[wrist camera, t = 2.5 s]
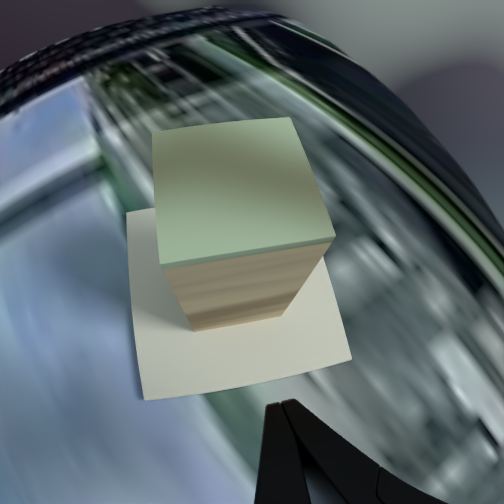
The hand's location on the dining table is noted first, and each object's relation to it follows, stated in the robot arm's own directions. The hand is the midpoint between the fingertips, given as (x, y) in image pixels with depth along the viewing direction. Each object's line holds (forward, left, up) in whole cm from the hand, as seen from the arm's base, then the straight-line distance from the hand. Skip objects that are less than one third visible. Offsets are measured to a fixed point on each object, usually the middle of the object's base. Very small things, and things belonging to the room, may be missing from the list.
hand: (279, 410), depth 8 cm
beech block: (+5, +5, -9) cm, 11 cm away
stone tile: (+5, +5, -9) cm, 11 cm away
